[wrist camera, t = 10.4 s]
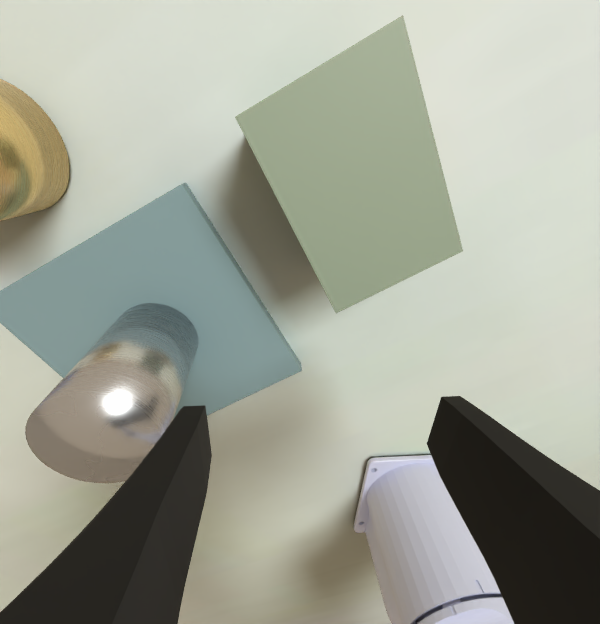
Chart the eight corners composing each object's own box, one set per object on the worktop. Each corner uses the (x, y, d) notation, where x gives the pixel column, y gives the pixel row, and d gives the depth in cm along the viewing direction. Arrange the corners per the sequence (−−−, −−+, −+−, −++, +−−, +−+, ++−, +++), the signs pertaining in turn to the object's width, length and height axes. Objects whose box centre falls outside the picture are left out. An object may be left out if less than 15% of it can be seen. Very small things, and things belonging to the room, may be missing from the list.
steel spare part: (201, 370, 18) (169, 479, 12) (123, 372, 18) (48, 486, 12) (194, 303, 16) (152, 391, 10) (106, 302, 16) (4, 395, 10)
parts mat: (145, 436, 21) (141, 446, 21) (-9, 297, 16) (-22, 303, 15) (300, 363, 20) (301, 370, 19) (185, 182, 15) (181, 184, 14)
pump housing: (314, 264, 17) (335, 313, 12) (247, 132, 14) (234, 116, 9) (406, 216, 16) (475, 245, 11) (357, 66, 13) (419, 5, 8)
